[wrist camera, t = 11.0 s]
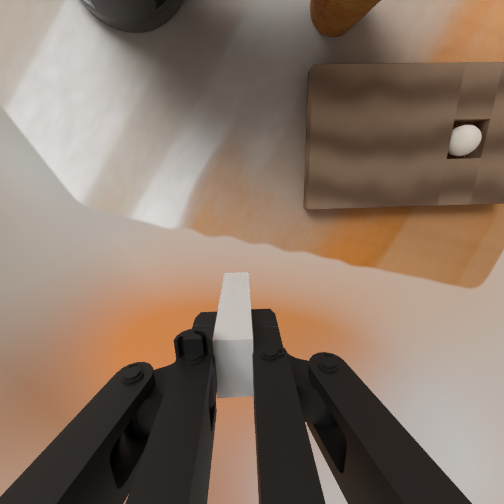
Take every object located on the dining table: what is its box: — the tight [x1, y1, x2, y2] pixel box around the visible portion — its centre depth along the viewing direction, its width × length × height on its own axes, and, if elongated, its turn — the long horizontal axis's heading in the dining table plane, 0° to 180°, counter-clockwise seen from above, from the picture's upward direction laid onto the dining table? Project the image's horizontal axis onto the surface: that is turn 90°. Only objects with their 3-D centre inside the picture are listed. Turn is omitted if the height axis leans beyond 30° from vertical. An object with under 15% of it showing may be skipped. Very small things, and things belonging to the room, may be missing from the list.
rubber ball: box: [448, 125, 482, 156], centre depth 35 cm, size 4×4×4 cm
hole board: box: [304, 62, 504, 209], centre depth 35 cm, size 18×30×2 cm, turn 91°
